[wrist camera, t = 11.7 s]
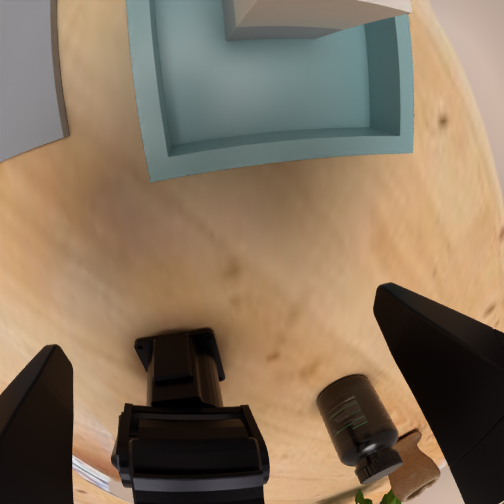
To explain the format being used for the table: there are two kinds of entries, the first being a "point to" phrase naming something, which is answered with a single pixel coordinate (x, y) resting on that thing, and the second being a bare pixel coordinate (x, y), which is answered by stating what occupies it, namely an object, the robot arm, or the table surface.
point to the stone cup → (412, 470)
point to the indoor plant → (389, 500)
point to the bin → (264, 91)
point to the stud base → (29, 77)
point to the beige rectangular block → (303, 17)
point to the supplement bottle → (360, 428)
